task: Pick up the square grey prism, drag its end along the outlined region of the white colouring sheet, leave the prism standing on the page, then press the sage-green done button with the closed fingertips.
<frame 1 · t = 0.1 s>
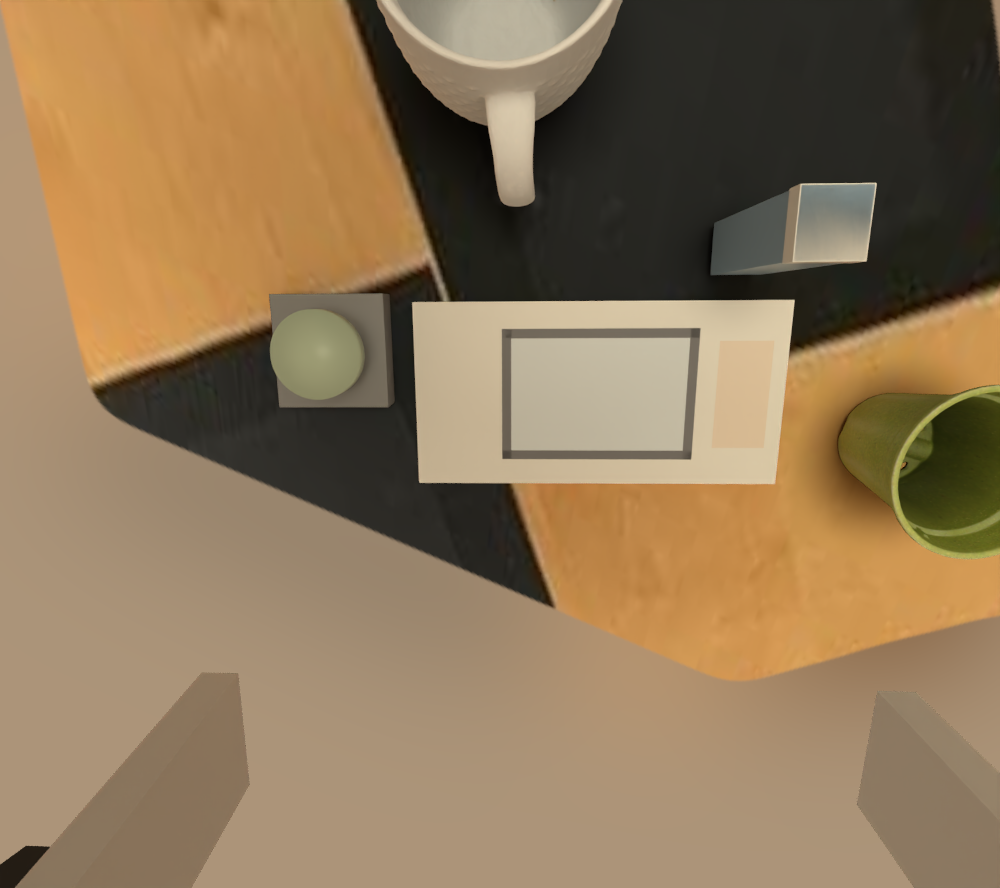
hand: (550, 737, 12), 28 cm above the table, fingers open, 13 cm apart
square grey prism: (731, 250, 36), on the table
done button: (324, 352, 35), point 3 cm above the table, slide at 0.0 cm
button housing: (339, 349, 38), on the table
plant pot: (881, 438, 39), on the table
mug: (505, 76, 34), on the table
sheet: (597, 394, 38), on the table
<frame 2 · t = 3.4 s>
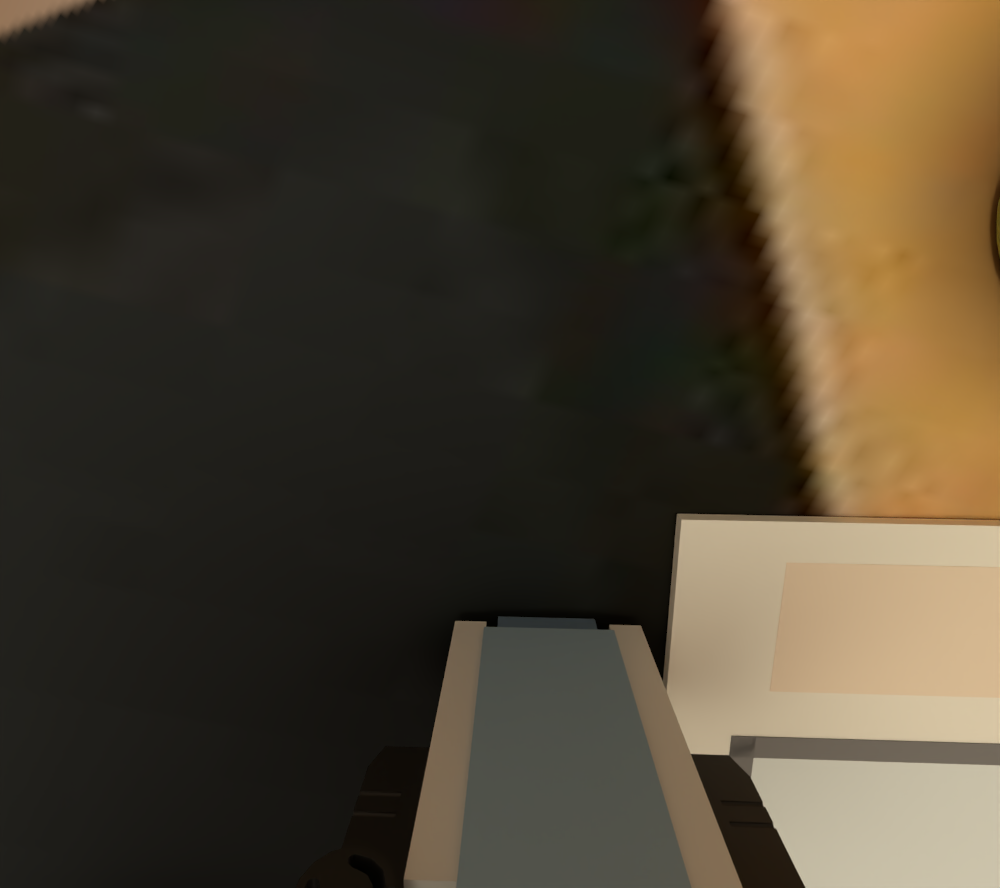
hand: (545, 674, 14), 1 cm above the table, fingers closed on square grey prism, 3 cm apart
square grey prism: (544, 660, 15), on the table, touching gripper
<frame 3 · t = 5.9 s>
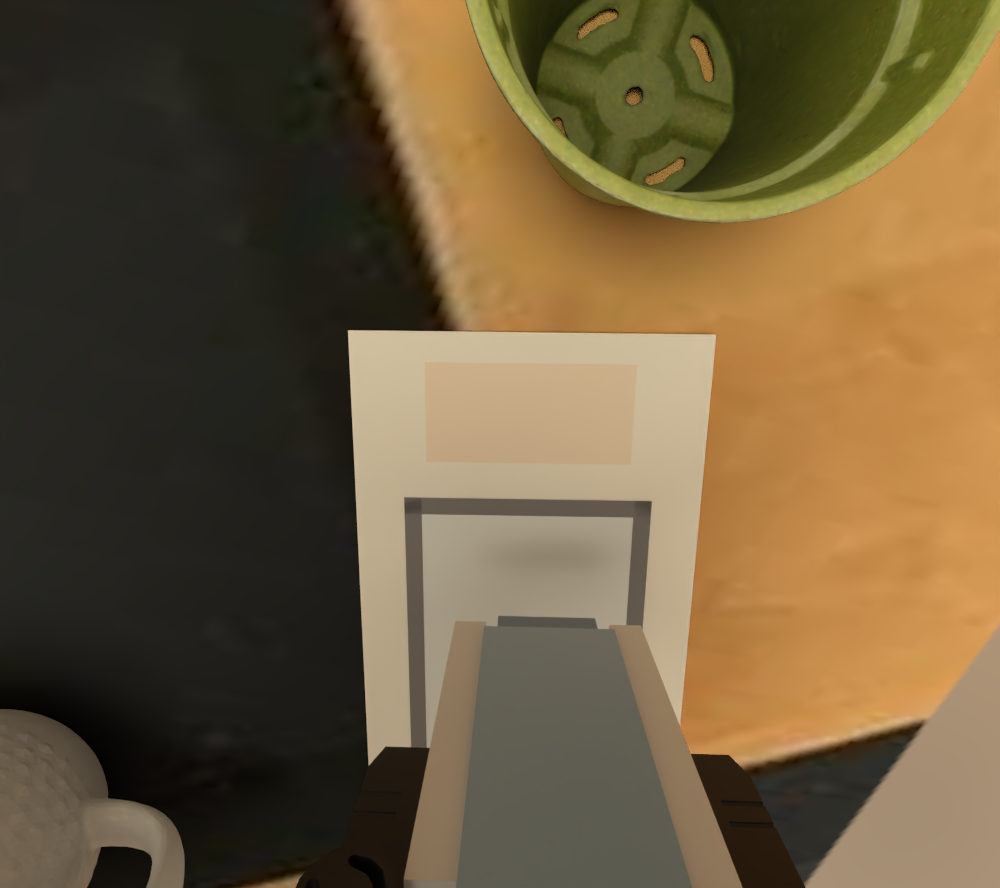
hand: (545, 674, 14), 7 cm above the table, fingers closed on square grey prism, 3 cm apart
square grey prism: (545, 659, 15), point 7 cm above the table, touching gripper
plant pot: (632, 102, 18), on the table
mug: (58, 772, 24), on the table
sheet: (523, 654, 22), on the table
when the fingers open (2 cm above the table, at t = 8.6 s): square grey prism stays where it is, resting on sheet.
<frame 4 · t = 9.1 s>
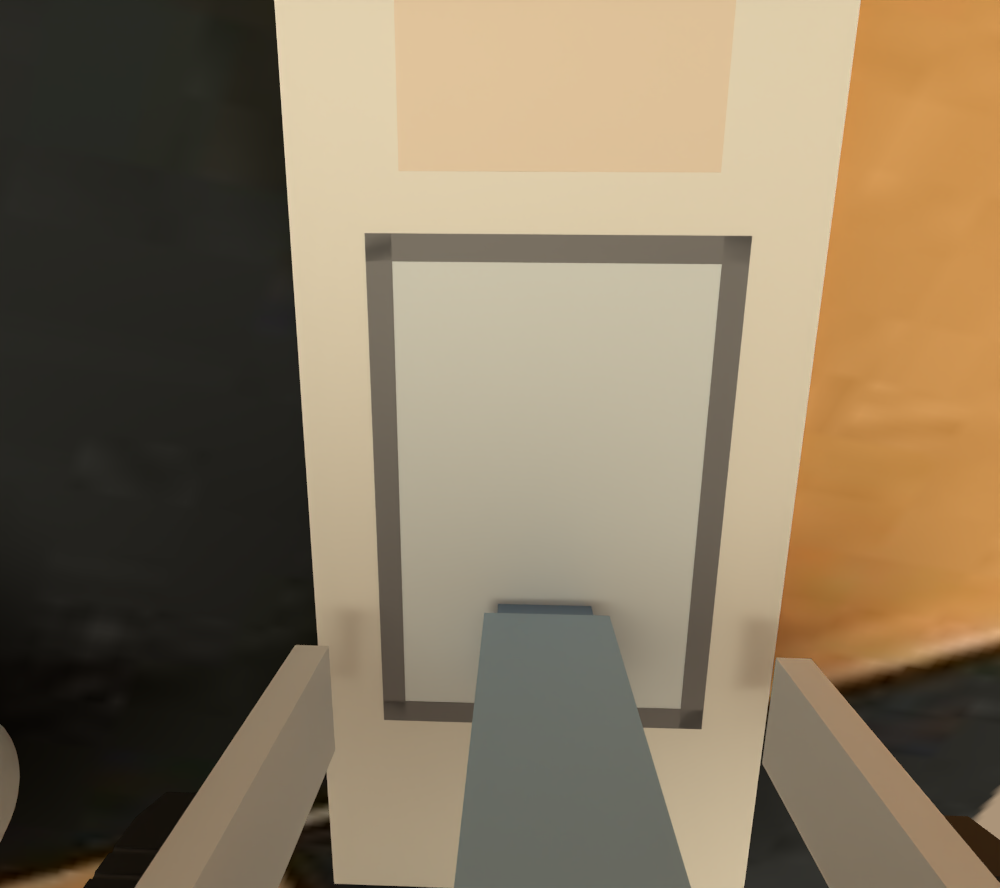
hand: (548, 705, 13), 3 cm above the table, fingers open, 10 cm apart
square grey prism: (543, 646, 15), resting on sheet
sheet: (547, 498, 15), on the table
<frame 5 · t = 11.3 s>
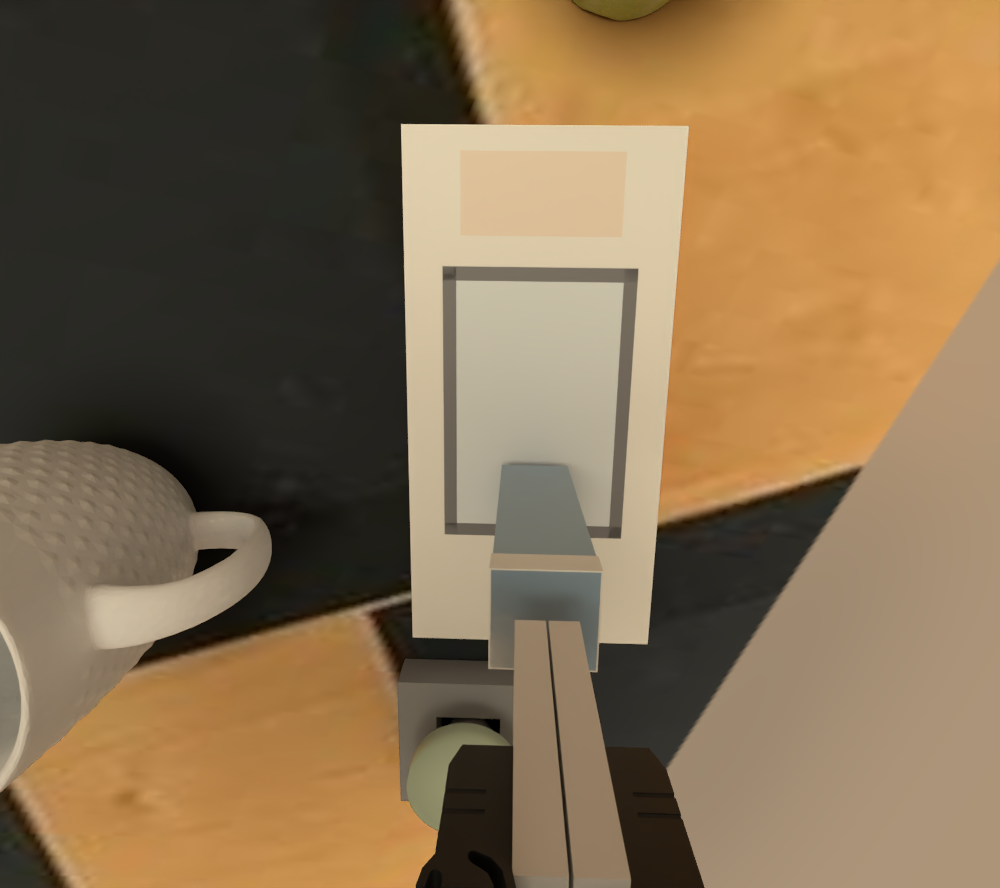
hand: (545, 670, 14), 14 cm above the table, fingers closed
square grey prism: (533, 490, 28), resting on sheet
done button: (466, 760, 28), point 3 cm above the table, slide at 0.0 cm
button housing: (471, 718, 31), on the table
mug: (157, 516, 29), on the table
sheet: (535, 407, 27), on the table
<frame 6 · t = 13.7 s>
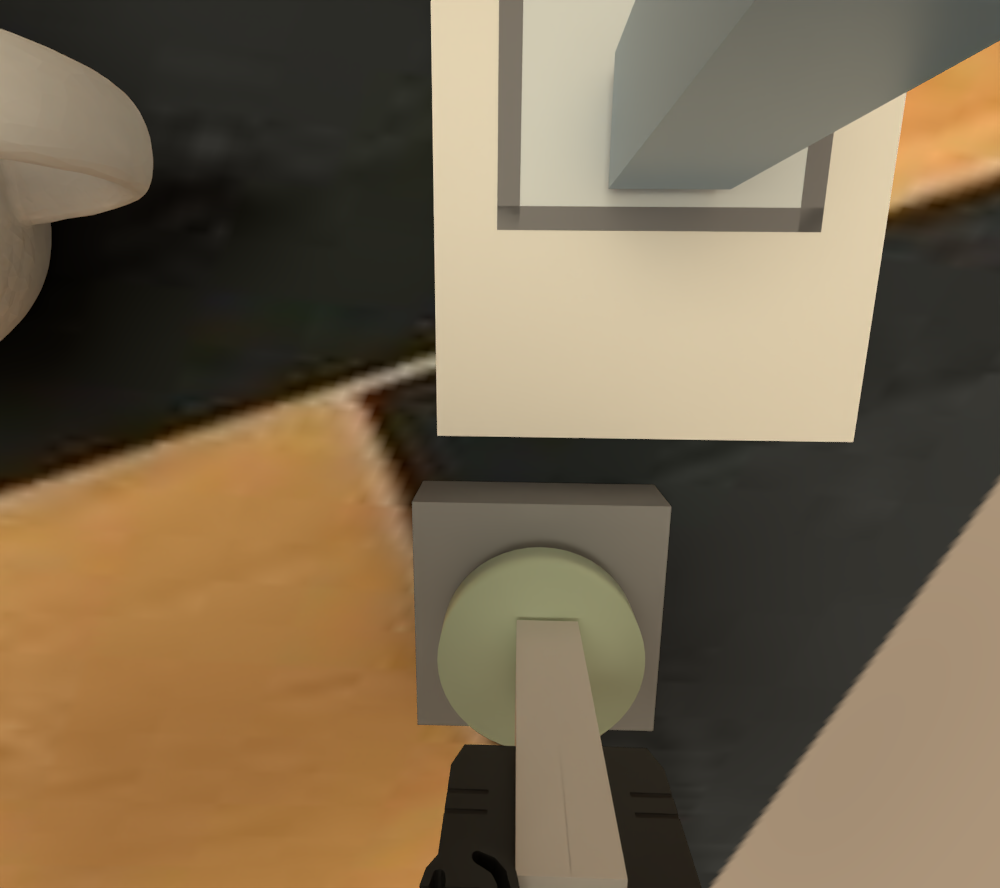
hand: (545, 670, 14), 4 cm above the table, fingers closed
square grey prism: (663, 134, 15), resting on sheet
done button: (538, 624, 16), point 2 cm above the table, slide at 0.8 cm, touching gripper
button housing: (535, 588, 18), on the table
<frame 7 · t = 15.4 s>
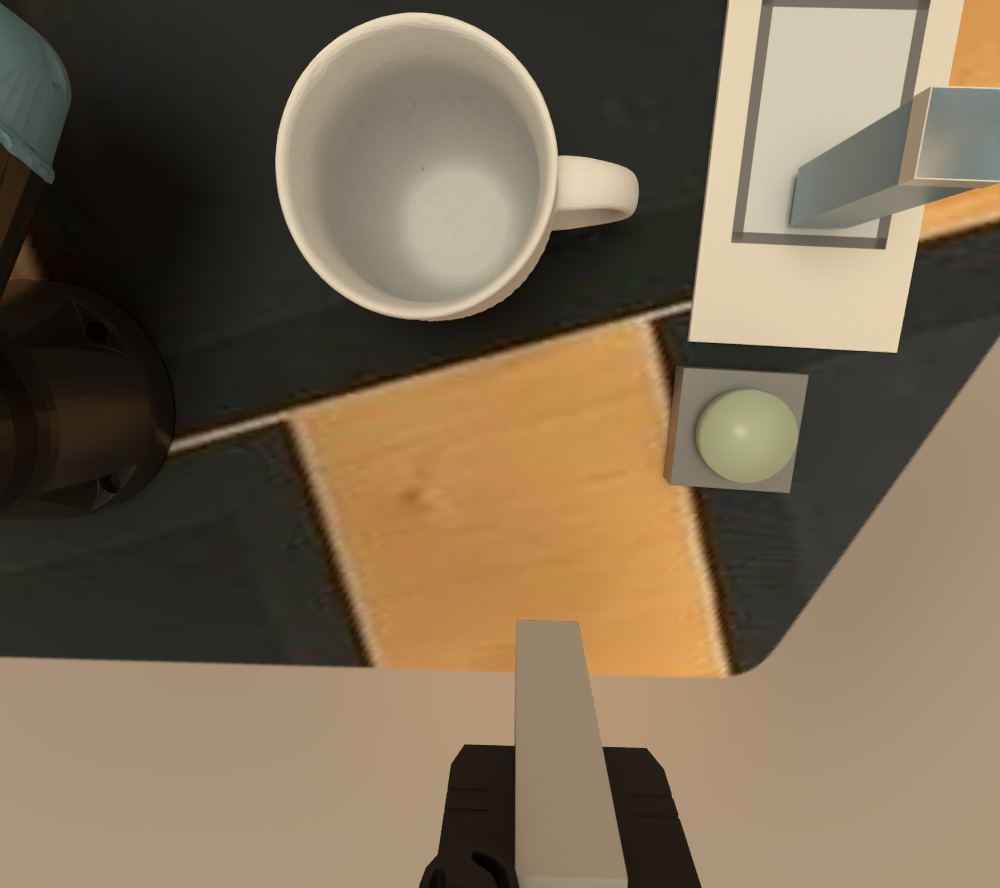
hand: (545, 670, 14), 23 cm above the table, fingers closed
square grey prism: (814, 202, 33), resting on sheet
done button: (738, 431, 34), point 2 cm above the table, slide at 0.9 cm
button housing: (726, 425, 36), on the table
mug: (478, 227, 35), on the table
sheet: (822, 128, 32), on the table
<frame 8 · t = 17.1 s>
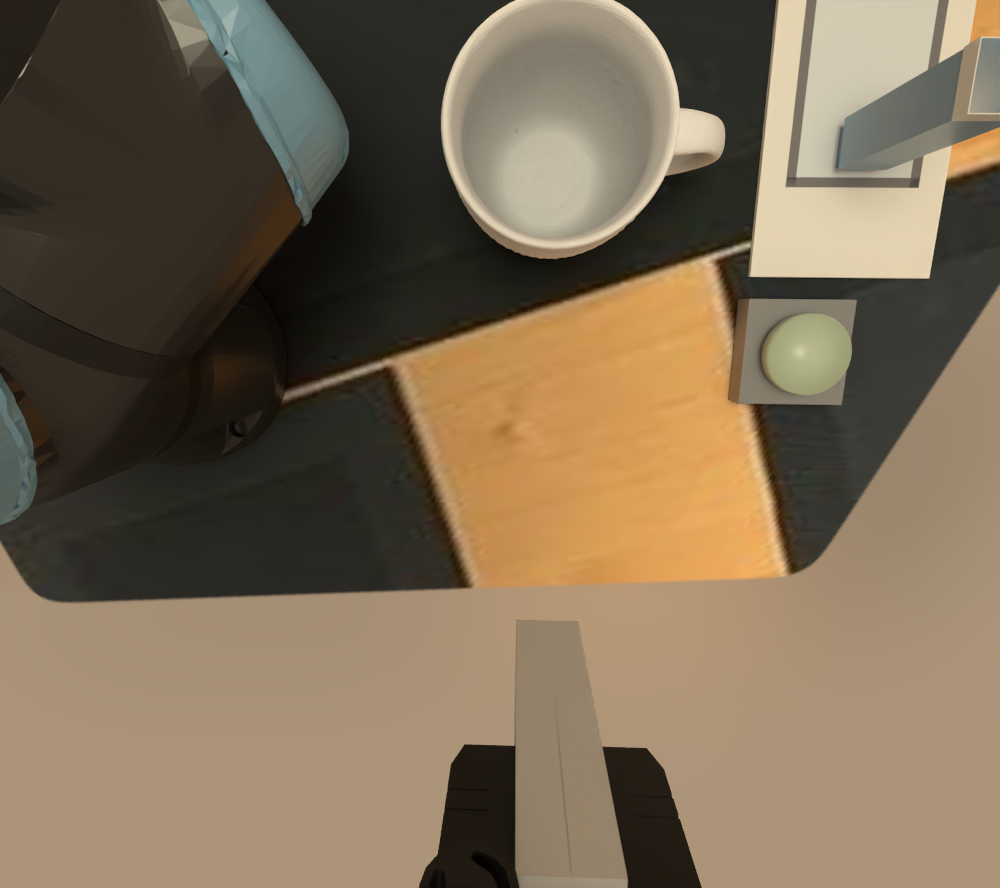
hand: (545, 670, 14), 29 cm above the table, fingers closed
square grey prism: (856, 148, 38), resting on sheet
done button: (797, 352, 39), point 2 cm above the table, slide at 0.9 cm
button housing: (783, 350, 41), on the table
mug: (561, 183, 39), on the table
sheet: (862, 83, 37), on the table
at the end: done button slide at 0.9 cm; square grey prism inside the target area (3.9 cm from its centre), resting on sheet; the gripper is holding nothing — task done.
